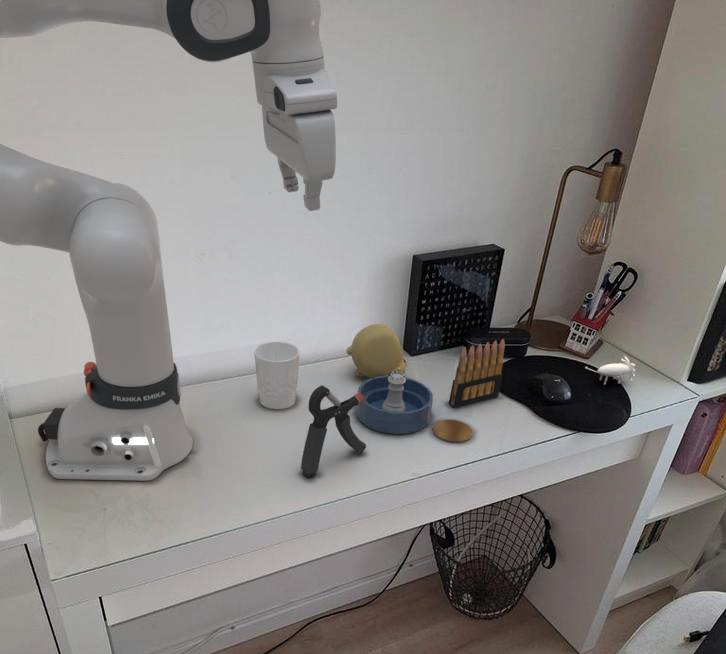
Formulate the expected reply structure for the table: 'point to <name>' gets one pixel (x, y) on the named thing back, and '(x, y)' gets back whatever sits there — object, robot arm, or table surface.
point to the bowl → (389, 421)
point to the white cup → (277, 374)
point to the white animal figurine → (616, 370)
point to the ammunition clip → (477, 375)
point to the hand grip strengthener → (320, 423)
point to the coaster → (452, 431)
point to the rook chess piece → (395, 393)
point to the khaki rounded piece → (377, 352)
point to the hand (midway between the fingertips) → (301, 199)
